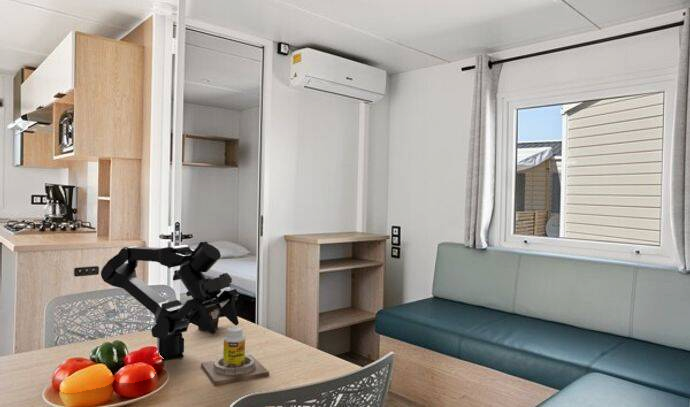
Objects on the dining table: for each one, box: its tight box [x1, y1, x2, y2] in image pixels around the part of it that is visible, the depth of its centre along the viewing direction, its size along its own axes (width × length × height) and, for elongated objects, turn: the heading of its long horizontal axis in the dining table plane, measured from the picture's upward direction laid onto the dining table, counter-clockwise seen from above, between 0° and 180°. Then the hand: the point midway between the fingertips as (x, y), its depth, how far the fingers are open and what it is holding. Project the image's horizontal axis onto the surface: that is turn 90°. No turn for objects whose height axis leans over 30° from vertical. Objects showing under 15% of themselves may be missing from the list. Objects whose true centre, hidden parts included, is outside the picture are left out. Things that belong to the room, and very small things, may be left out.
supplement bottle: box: [222, 326, 246, 368], centre depth 123 cm, size 6×6×10 cm
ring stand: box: [200, 354, 270, 386], centre depth 123 cm, size 14×14×2 cm
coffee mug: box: [197, 305, 223, 332], centre depth 161 cm, size 12×9×10 cm
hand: (226, 328), depth 124 cm, fingers open, 9 cm apart
